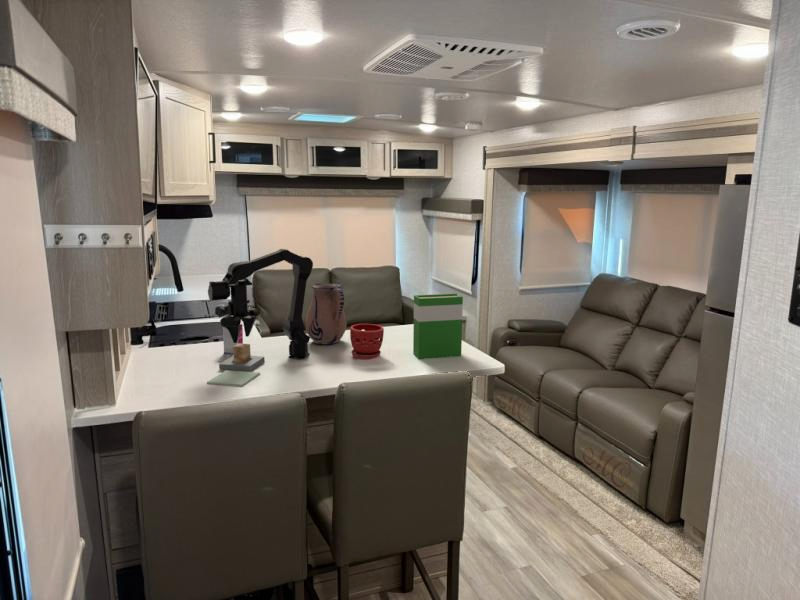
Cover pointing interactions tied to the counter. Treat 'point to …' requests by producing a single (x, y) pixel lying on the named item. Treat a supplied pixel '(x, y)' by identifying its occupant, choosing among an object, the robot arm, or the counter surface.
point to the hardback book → (437, 326)
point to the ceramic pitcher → (326, 314)
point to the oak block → (241, 353)
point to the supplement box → (229, 342)
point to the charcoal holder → (242, 364)
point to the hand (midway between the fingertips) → (241, 339)
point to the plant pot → (366, 340)
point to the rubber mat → (233, 378)
